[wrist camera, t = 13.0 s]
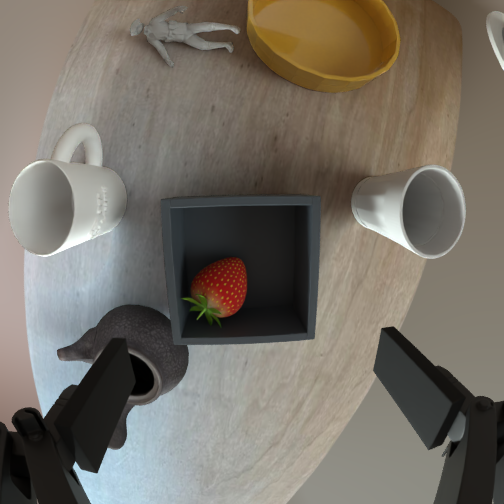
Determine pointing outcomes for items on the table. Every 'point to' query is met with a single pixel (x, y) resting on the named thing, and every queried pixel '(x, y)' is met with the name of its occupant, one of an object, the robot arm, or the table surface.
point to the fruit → (219, 289)
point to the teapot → (135, 355)
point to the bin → (255, 260)
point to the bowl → (324, 41)
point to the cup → (413, 208)
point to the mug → (66, 196)
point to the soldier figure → (180, 33)
